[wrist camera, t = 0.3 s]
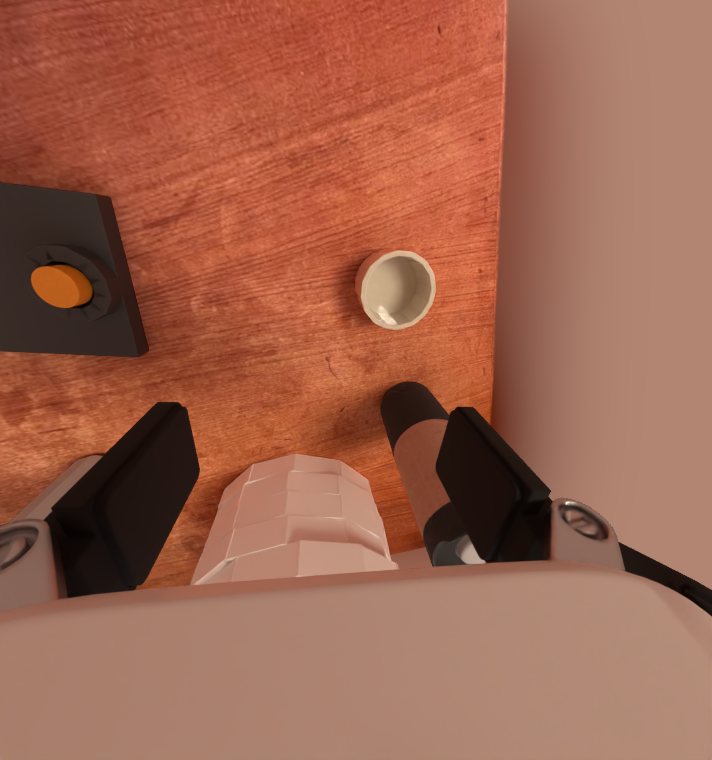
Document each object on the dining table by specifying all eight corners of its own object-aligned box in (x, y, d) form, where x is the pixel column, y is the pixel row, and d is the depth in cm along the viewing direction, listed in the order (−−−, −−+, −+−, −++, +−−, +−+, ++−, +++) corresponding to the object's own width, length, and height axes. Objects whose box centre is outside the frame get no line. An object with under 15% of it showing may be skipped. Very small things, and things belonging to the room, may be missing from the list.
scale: (-124, 168, 21) (-201, 156, 18) (111, 197, 23) (79, 190, 20) (-28, 342, 27) (-73, 355, 24) (150, 350, 30) (130, 364, 26)
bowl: (358, 245, 27) (365, 246, 23) (424, 252, 28) (443, 255, 24) (351, 314, 30) (357, 327, 26) (411, 318, 31) (426, 331, 27)
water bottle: (115, 500, 38) (-163, 855, 16) (58, 467, 35) (-393, 863, 13) (163, 470, 37) (-68, 812, 15) (110, 432, 33) (-296, 807, 11)
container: (362, 431, 38) (387, 547, 24) (394, 531, 49) (425, 650, 35) (191, 481, 38) (115, 624, 24) (261, 568, 49) (237, 702, 35)
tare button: (41, 262, 22) (22, 264, 21) (86, 266, 23) (71, 268, 21) (56, 302, 24) (40, 306, 22) (98, 305, 24) (84, 309, 23)
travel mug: (441, 411, 38) (548, 561, 20) (393, 436, 39) (454, 600, 21) (420, 369, 34) (527, 505, 17) (368, 397, 36) (415, 555, 18)
